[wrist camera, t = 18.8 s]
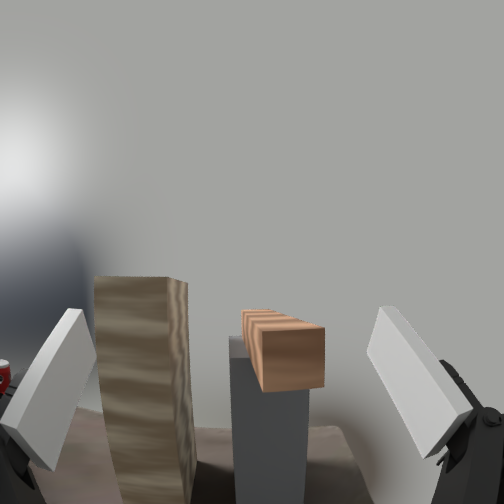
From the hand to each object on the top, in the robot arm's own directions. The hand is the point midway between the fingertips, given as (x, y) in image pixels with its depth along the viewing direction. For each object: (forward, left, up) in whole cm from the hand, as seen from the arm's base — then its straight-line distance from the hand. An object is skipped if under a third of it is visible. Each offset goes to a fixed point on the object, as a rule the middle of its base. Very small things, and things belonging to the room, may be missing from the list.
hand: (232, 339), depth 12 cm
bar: (-8, +17, -4) cm, 20 cm away
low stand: (-11, +23, -26) cm, 37 cm away
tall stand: (-23, +15, -26) cm, 38 cm away
